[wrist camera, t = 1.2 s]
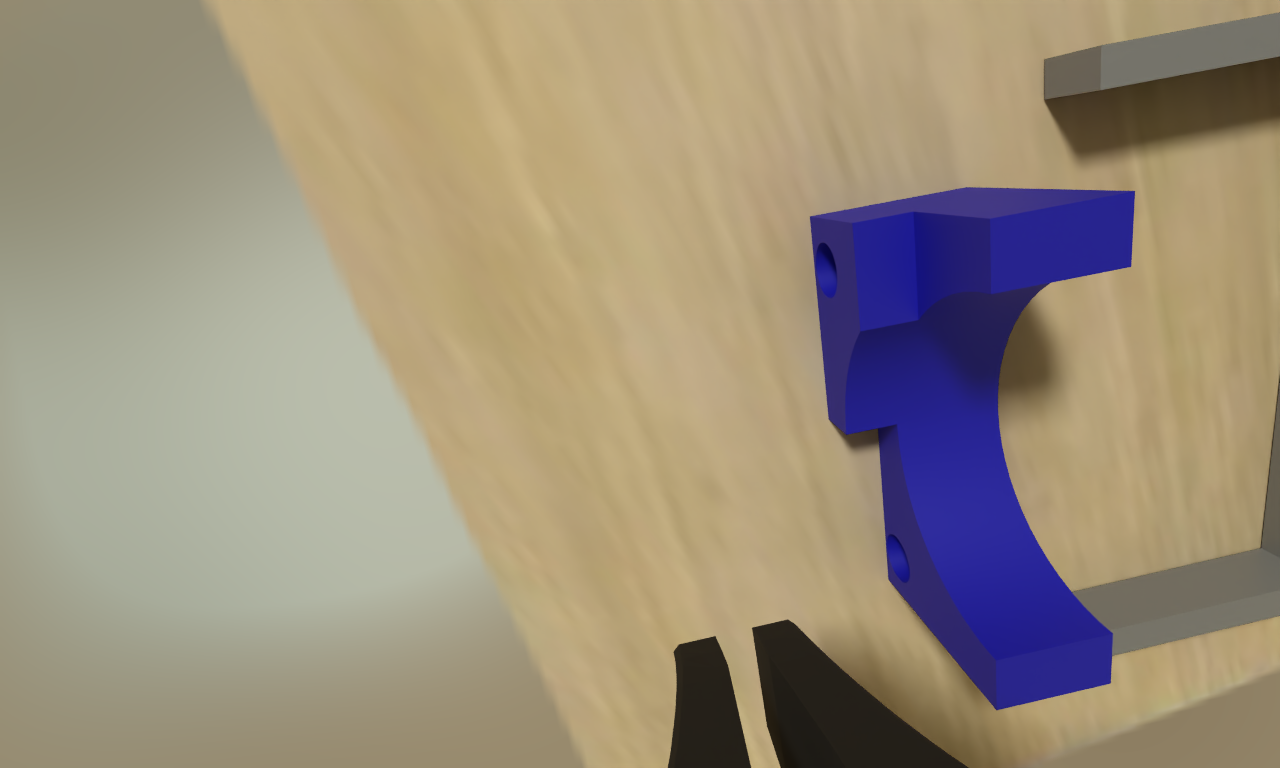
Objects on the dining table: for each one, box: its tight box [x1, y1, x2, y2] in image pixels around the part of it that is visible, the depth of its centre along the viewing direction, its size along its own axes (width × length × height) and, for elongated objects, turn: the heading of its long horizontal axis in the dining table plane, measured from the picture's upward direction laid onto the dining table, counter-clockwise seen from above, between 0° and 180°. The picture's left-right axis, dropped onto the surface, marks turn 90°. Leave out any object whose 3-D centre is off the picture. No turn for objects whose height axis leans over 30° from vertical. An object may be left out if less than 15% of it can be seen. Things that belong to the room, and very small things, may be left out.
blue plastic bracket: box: [810, 187, 1135, 710], centre depth 18 cm, size 12×4×6 cm, turn 10°
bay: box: [1045, 13, 1280, 656], centre depth 20 cm, size 9×18×2 cm, turn 10°
